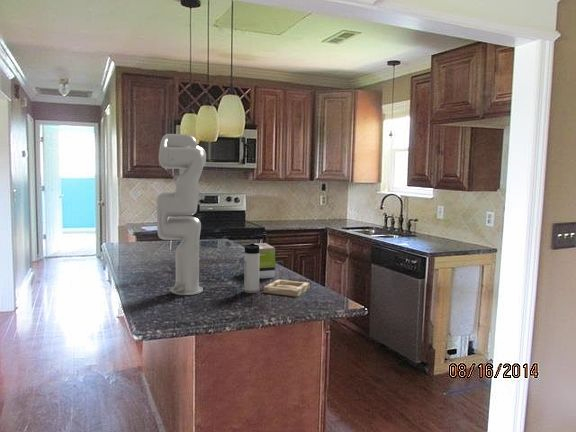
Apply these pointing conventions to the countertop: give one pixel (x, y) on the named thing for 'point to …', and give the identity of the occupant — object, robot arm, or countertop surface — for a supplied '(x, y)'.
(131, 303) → the countertop surface
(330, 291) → the countertop surface
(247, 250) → the travel mug
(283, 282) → the holder base
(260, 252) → the tea box
